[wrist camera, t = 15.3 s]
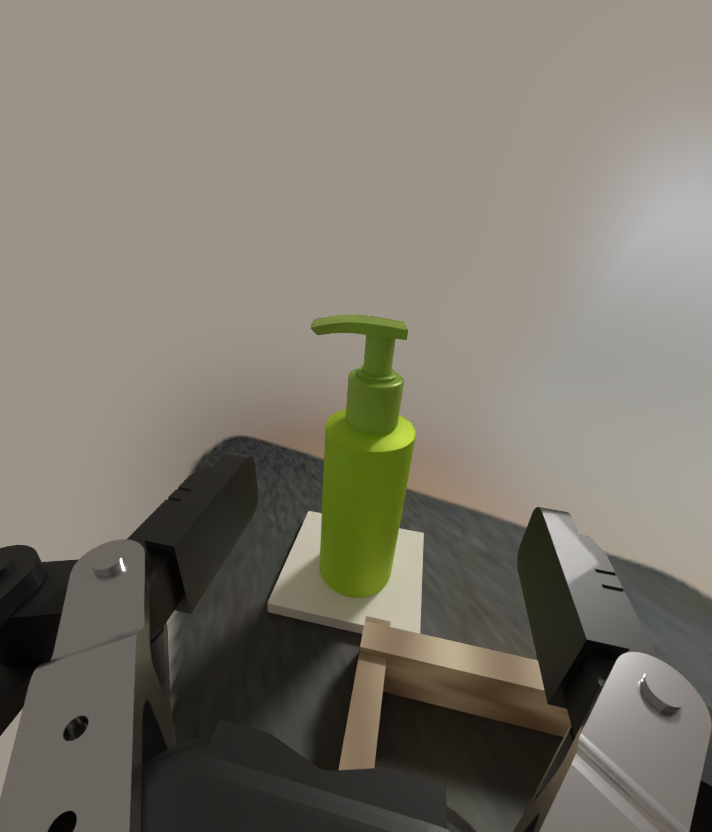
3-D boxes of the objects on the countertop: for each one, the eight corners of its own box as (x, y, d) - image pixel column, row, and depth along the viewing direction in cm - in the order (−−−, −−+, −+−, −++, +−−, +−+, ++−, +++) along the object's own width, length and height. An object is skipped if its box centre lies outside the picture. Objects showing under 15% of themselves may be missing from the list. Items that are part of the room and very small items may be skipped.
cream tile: (421, 541, 34) (423, 533, 34) (417, 647, 26) (419, 638, 25) (308, 518, 36) (308, 511, 35) (267, 612, 27) (267, 603, 27)
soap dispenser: (310, 535, 33) (317, 304, 23) (388, 540, 33) (425, 313, 24) (301, 594, 27) (305, 327, 18) (394, 600, 28) (444, 339, 18)
